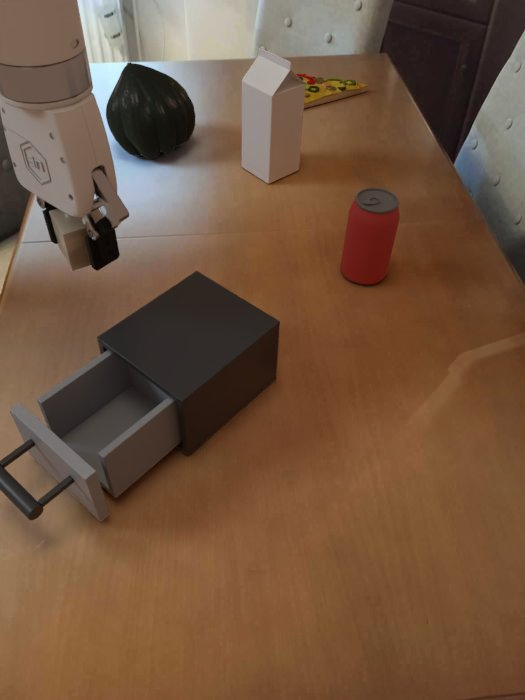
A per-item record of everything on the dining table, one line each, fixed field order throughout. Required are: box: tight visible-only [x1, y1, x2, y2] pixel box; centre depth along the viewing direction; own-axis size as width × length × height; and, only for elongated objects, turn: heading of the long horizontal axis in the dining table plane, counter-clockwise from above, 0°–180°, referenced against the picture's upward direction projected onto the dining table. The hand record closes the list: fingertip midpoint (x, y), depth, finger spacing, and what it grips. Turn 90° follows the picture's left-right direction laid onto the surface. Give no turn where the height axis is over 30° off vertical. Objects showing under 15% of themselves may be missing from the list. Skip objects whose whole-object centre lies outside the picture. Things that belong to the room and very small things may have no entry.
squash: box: [105, 62, 196, 160], centre depth 103 cm, size 14×15×15 cm
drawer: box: [0, 350, 182, 523], centre depth 59 cm, size 18×11×8 cm, turn 139°
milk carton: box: [241, 47, 306, 185], centre depth 96 cm, size 7×7×19 cm
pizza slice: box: [295, 73, 369, 109], centre depth 123 cm, size 16×21×3 cm
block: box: [49, 208, 103, 272], centre depth 61 cm, size 4×4×4 cm
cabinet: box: [96, 270, 281, 458], centre depth 66 cm, size 15×13×10 cm
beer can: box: [340, 187, 401, 286], centre depth 81 cm, size 7×7×12 cm
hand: (85, 248), depth 62 cm, fingers closed on block, 5 cm apart
